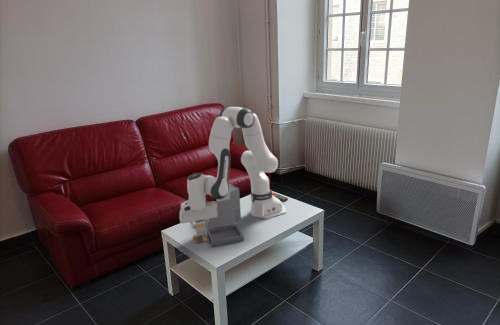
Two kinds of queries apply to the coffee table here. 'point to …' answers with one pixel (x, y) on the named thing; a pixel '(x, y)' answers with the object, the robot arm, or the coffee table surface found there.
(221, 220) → the lid
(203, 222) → the block
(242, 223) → the coffee table surface
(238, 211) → the hard drive box
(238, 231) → the case
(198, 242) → the board
